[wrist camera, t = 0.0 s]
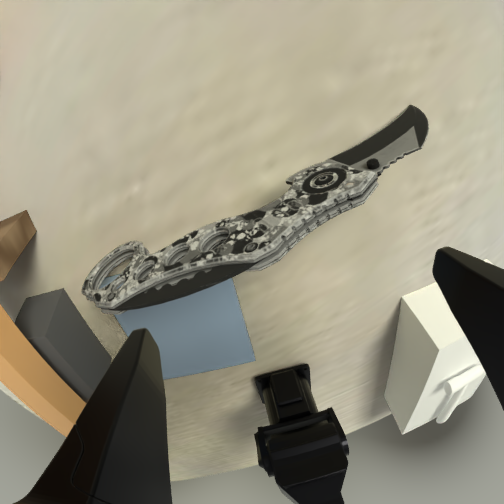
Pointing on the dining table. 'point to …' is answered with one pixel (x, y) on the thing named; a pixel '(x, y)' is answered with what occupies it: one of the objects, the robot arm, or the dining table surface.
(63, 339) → the charcoal wedge block
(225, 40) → the dining table surface
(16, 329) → the tan wooden bar
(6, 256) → the rail
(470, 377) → the tissue box
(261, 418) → the dining table surface
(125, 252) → the grey curved piece
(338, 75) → the dining table surface
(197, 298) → the pad
